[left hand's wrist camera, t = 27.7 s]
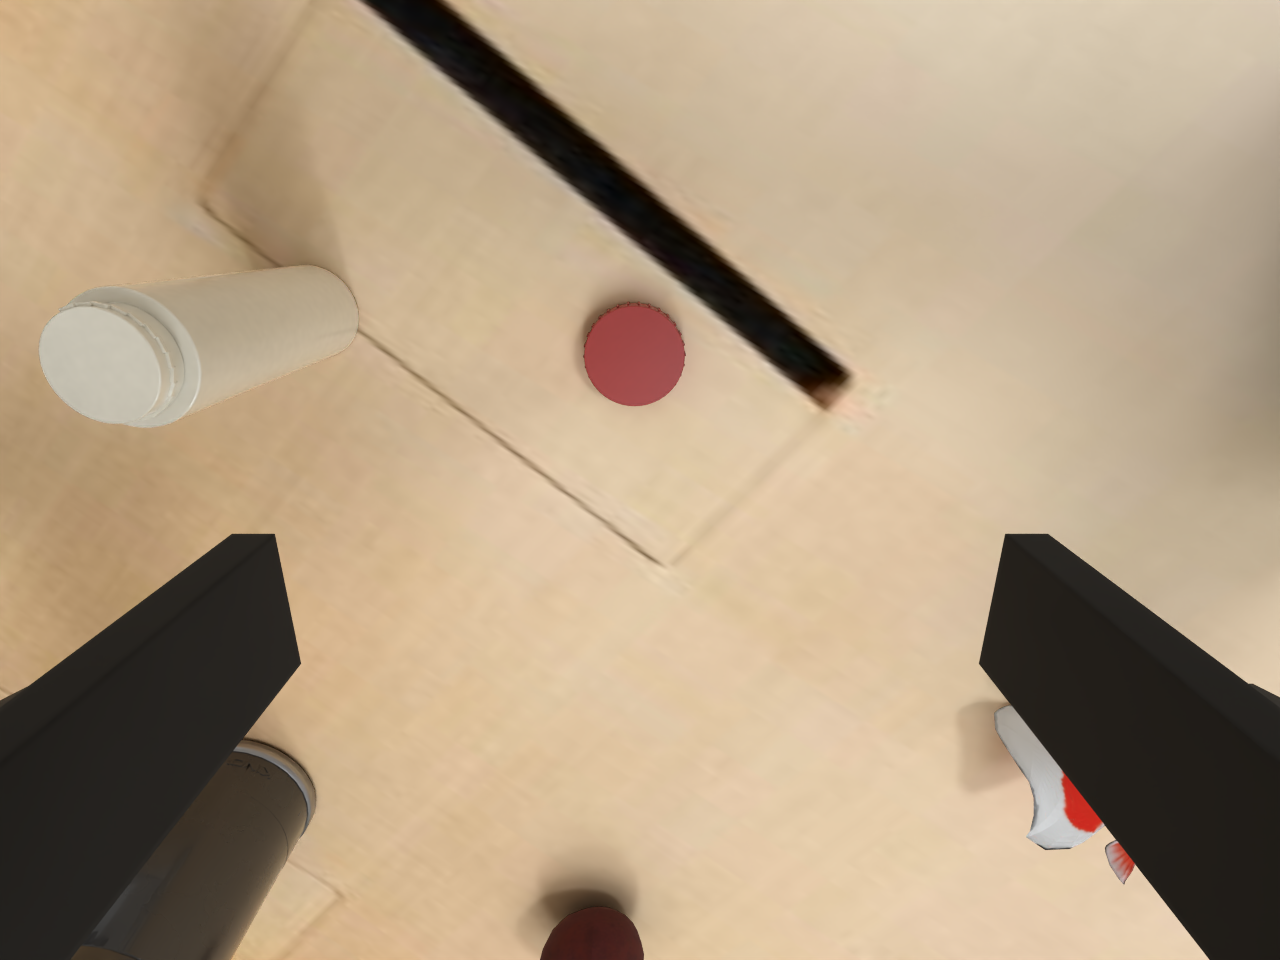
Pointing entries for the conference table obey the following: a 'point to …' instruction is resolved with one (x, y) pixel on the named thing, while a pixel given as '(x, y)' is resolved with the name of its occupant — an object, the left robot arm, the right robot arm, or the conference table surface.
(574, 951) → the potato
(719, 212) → the conference table surface
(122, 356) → the bottle
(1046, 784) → the fish
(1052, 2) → the conference table surface
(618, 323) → the lid
